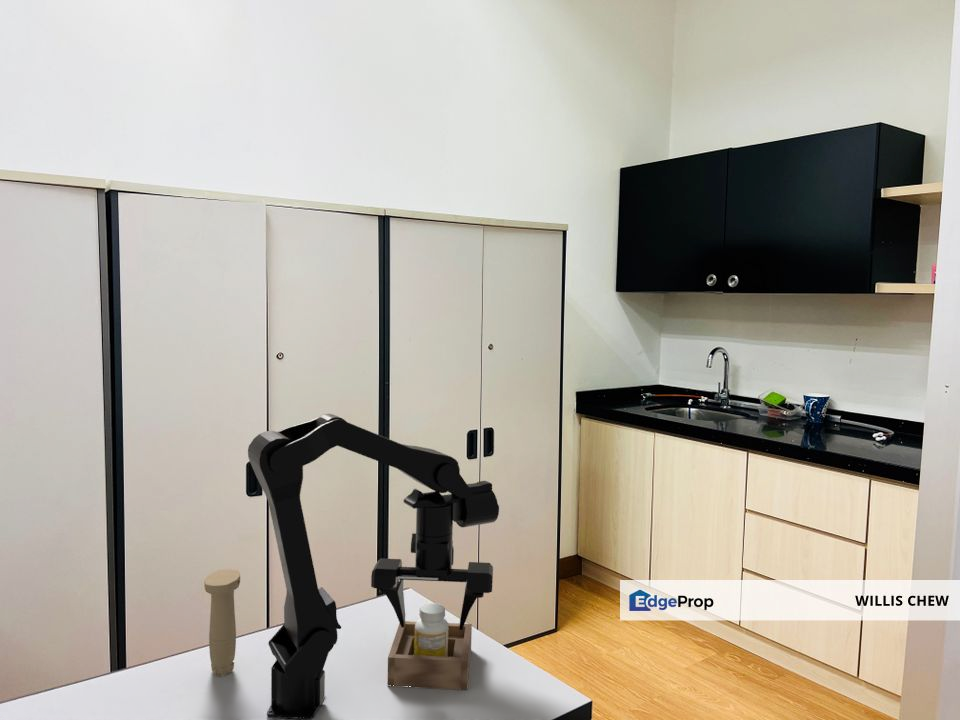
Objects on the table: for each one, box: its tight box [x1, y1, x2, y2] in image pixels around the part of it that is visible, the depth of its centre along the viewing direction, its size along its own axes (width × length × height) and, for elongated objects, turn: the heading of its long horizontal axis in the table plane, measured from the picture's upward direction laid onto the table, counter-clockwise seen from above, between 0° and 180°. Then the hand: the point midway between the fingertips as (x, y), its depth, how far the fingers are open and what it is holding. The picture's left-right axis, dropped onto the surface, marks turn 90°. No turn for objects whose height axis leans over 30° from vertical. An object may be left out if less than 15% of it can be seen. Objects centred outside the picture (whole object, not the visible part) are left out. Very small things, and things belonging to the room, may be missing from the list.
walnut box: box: [387, 620, 473, 691], centre depth 108 cm, size 12×12×4 cm
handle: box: [203, 568, 241, 677], centre depth 105 cm, size 5×6×15 cm
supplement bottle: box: [414, 602, 449, 657], centre depth 108 cm, size 5×5×10 cm
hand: (432, 627), depth 108 cm, fingers open, 9 cm apart
